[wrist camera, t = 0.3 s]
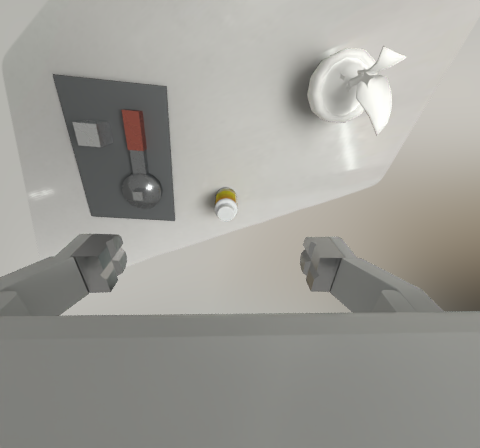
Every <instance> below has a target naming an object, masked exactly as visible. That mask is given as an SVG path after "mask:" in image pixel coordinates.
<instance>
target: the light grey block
mask: <svg viewBox="0 0 480 448" xmlns="http://www.w3.org/2000/svg"><path fill="white" fill-rule="evenodd" d="M72 123H73V126H74V130H75V134H76V138H77V142H78V145H79V146H91V147H103V146H105V145H108V144H111V143H113V141H112V135H111V130H110V125H109V122H107V121H96V120H83V121H76V122H72Z"/></svg>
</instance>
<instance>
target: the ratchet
mask: <svg viewBox="0 0 480 448" xmlns="http://www.w3.org/2000/svg"><path fill="white" fill-rule="evenodd" d="M122 116H123V122H124V129H125V135H126V142H127V148H128V150H130V157H131V163H132V170H133V174H131V175H130V176H129V177H127V178H126V179H125V181H124V182H123V185H122V192H123V195H124V197H125V198H126V200H127V201H128V202H129V203H130V204H132V205H133V206H135V207H137V208H141V209H148V208H152V207H154V206H155V205H156V204H157V203H158V202H159V200H160V199H161V197H162V194H163V189H162V185H161V183H160V181H159V180H158V179H157V178H156V177H155V176H154V175H152V174H150V173H149V170H148V161H147V153H146V149H147V145H146V137H145V128H144V119H143V111H140V110H129V109H124V110H122Z"/></svg>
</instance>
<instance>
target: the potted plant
mask: <svg viewBox="0 0 480 448" xmlns="http://www.w3.org/2000/svg"><path fill="white" fill-rule="evenodd" d="M405 58H406V56H404V55H401V54H399V53H397V52H395V51H393V50H391V49H389V48H387V47H385V46H383V48H382V50H381V53H380V55H379V58H378V60H377V62H376V61H375V60H374V59H373V58H372V56H371V55H370V54H369V53H368V52H367V51H366V50H365V49H356V48H346V49H344V50H341V51H339V52H337V53H335V54H333V55H331V56H330V57H328V58H326V59H324V60H322V61H321V63H320V64H319V66H318V67H317V68H316V70H315V71H314V73H313V74H312V76H311V78H310V83H309V88H308V93H307V97H308V100H309V104H310V107H311V111H312V112H313V113H315V114H316V115H317V116H318V117H319V118H320V119H322V120H324V121H329V122H340V123H345V122H347V121H349V120H351V119H353V118H355V117H358V116H360V115H361V114H362V112H363V111H364V110H365V111H366V113H367V114H368V116H369V118H370V120H371V123H372V125H373V128H374V130H375V133H376V135H378V134H379V133H380V132H381V130H382V129H383V128H384V127H385V125H386V124H387V123H388V120H389V117H390V113H391V109H392V93H391V89H390V85H389V82H388V78H387V77H386V76H382V75H378V72H379V71H381V70H383V69H387V68H389V67H391V66H393V65H395V64H397V63H398V62H400V61H402V60H404V59H405Z"/></svg>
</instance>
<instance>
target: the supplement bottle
mask: <svg viewBox="0 0 480 448" xmlns="http://www.w3.org/2000/svg"><path fill="white" fill-rule="evenodd" d="M237 211H238V206H237V196H236V193H235V192H234V191H233V190H232V189H230V188H222V189H220V190H219V191H218V192H217V194H216V200H215V213H216V215H217V216H218V218H219V219H220V220H222V221H224V222H228V221H230V220H232V219H233V218H234V217H235V215H236V214H237Z"/></svg>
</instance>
